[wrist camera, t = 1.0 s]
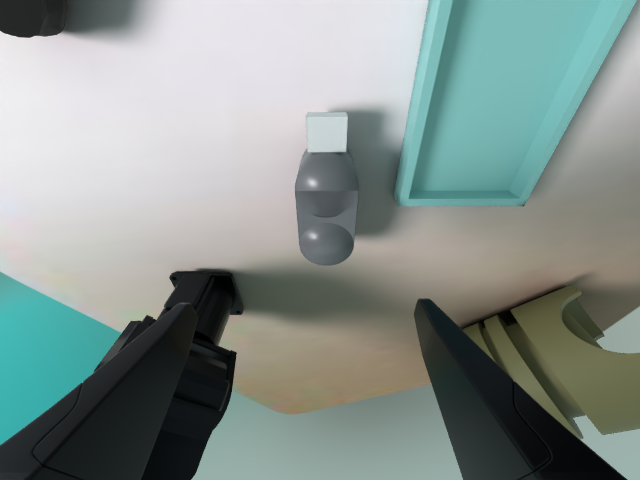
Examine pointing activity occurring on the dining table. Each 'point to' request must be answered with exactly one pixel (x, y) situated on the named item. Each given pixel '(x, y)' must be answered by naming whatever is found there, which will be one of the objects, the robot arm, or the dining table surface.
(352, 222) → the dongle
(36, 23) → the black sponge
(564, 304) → the piston
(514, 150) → the tray
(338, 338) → the dining table surface
